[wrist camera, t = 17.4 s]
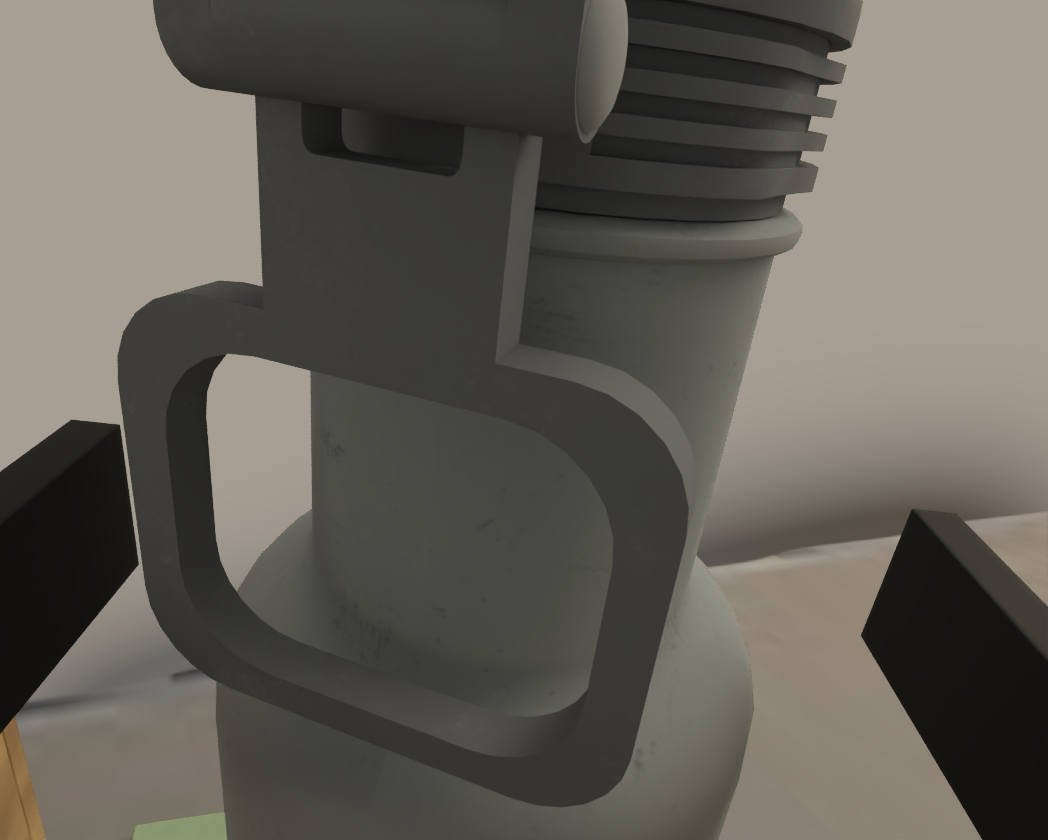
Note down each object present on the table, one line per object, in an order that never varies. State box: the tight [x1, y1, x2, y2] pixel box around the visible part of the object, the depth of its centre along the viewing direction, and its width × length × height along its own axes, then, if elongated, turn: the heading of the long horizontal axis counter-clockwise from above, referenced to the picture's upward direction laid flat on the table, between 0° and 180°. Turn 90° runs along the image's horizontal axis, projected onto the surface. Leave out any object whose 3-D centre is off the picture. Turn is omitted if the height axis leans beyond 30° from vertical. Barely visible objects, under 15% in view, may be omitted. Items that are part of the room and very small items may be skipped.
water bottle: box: [118, 0, 863, 840], centre depth 14 cm, size 10×10×28 cm
